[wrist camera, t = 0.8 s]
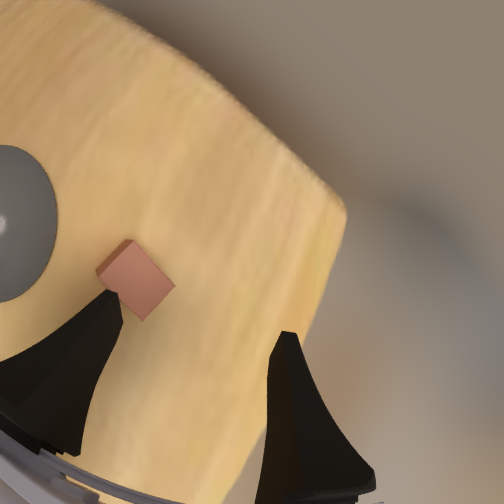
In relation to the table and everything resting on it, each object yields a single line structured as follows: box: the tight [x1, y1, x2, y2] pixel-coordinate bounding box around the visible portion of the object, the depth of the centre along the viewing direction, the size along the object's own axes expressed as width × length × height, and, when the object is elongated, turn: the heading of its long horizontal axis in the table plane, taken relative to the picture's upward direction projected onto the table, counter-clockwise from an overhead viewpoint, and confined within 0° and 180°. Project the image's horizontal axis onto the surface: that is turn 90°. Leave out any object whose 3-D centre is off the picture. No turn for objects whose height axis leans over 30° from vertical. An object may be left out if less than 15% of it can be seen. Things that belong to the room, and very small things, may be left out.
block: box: [96, 240, 175, 321], centre depth 22 cm, size 4×5×5 cm
